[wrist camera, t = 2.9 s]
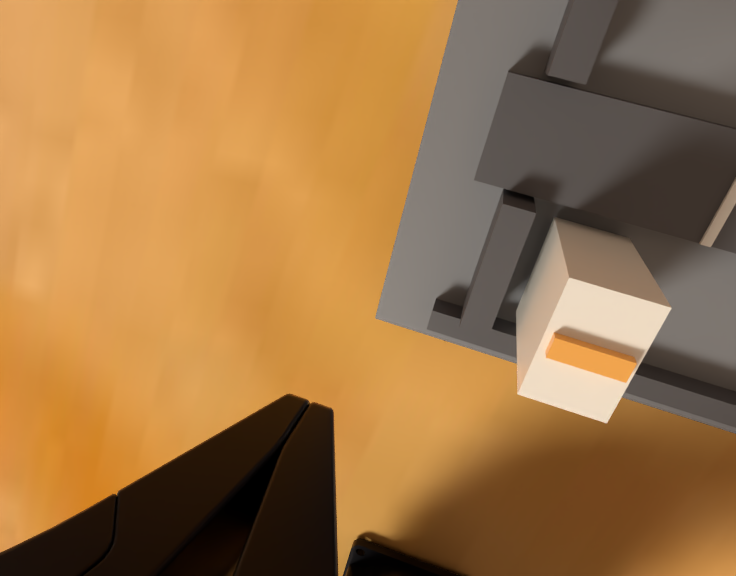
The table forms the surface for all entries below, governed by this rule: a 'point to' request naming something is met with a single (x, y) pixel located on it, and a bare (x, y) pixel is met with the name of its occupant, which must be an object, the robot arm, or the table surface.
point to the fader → (585, 320)
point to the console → (581, 178)
